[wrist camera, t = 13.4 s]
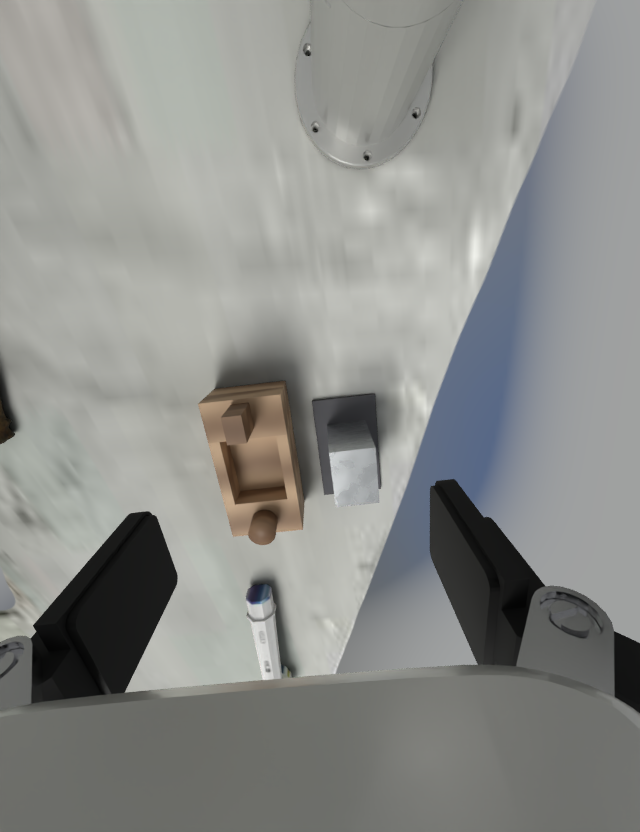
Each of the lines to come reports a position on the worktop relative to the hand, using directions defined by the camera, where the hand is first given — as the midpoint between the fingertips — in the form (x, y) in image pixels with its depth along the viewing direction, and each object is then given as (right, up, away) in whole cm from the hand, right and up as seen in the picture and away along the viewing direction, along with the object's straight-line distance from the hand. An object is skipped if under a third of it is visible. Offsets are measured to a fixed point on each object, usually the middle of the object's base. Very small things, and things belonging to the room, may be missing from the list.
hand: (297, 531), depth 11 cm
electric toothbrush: (-8, -35, +46) cm, 58 cm away
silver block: (+5, 0, +32) cm, 32 cm away
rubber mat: (+5, 0, +33) cm, 33 cm away
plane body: (-7, 0, +33) cm, 33 cm away
